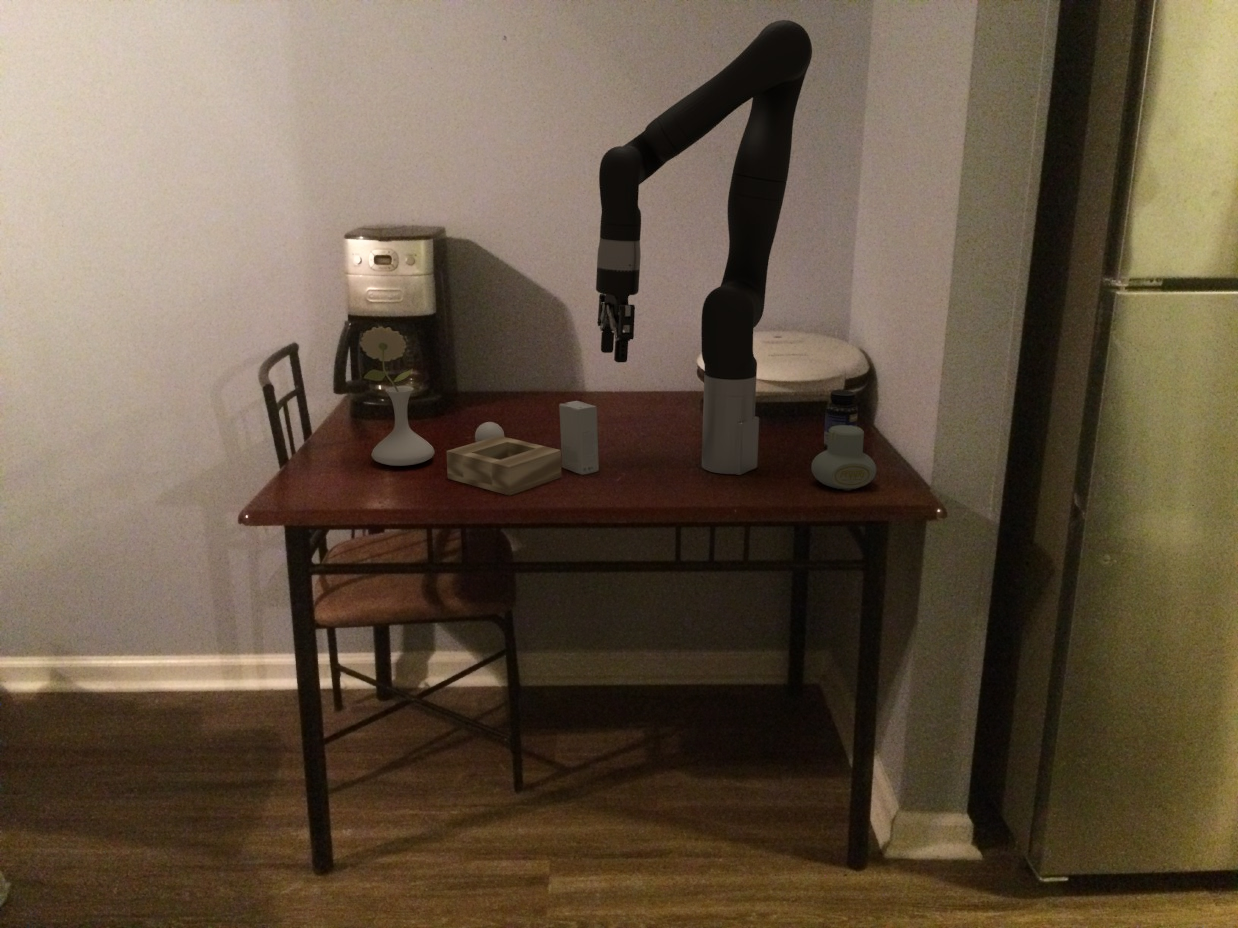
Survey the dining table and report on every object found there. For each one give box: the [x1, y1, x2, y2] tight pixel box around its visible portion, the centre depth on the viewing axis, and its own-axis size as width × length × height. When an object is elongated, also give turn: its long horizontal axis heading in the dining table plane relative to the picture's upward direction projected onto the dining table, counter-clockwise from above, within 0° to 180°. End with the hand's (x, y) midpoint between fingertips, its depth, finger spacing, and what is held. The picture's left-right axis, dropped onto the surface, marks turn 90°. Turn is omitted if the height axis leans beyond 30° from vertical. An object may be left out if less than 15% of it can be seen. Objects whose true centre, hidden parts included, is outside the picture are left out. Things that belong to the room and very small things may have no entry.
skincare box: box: [558, 400, 600, 475], centre depth 182 cm, size 6×4×12 cm
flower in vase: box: [359, 326, 436, 467], centre depth 184 cm, size 13×11×25 cm
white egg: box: [466, 421, 505, 443], centre depth 195 cm, size 8×6×6 cm
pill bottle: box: [823, 389, 859, 449], centre depth 197 cm, size 6×6×11 cm
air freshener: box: [810, 425, 877, 491], centre depth 175 cm, size 11×8×10 cm
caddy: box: [446, 436, 562, 496], centre depth 178 cm, size 15×13×5 cm
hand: (613, 357), depth 183 cm, fingers open, 8 cm apart
